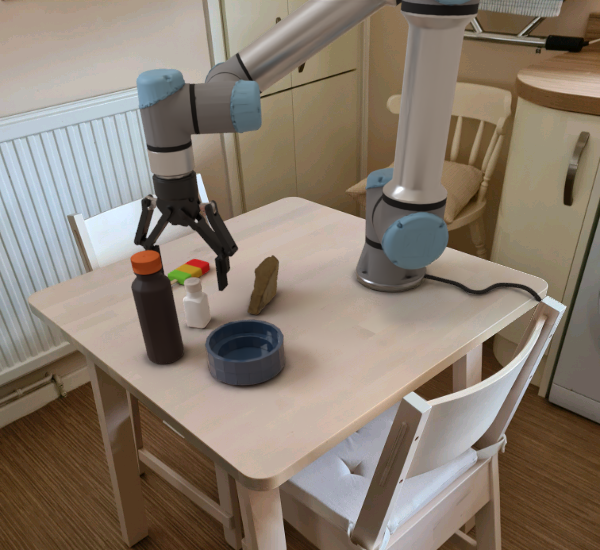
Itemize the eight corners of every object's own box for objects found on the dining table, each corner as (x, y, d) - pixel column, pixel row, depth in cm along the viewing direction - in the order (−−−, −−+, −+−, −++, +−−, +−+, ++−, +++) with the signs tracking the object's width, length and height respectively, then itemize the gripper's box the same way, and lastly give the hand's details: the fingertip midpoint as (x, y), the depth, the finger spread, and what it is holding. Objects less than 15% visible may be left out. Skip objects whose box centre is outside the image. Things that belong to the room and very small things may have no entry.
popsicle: (212, 269, 143) (211, 261, 142) (168, 297, 133) (167, 290, 132) (194, 264, 146) (193, 257, 144) (150, 292, 136) (148, 284, 135)
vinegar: (168, 340, 120) (147, 244, 107) (191, 352, 116) (173, 254, 104) (140, 356, 116) (116, 258, 103) (164, 369, 112) (141, 269, 100)
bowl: (295, 349, 116) (293, 324, 112) (269, 393, 105) (267, 367, 102) (227, 339, 119) (224, 315, 116) (196, 381, 109) (191, 355, 106)
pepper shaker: (186, 327, 124) (178, 284, 118) (194, 317, 126) (187, 275, 121) (204, 329, 123) (197, 287, 117) (212, 319, 125) (205, 277, 120)
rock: (261, 313, 122) (297, 289, 126) (237, 275, 120) (275, 252, 125) (240, 323, 132) (275, 301, 136) (218, 289, 130) (254, 267, 134)
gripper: (249, 170, 105) (258, 282, 118) (121, 159, 112) (143, 267, 125) (231, 185, 100) (243, 301, 113) (98, 173, 106) (124, 284, 119)
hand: (191, 283), depth 119 cm, fingers open, 13 cm apart
